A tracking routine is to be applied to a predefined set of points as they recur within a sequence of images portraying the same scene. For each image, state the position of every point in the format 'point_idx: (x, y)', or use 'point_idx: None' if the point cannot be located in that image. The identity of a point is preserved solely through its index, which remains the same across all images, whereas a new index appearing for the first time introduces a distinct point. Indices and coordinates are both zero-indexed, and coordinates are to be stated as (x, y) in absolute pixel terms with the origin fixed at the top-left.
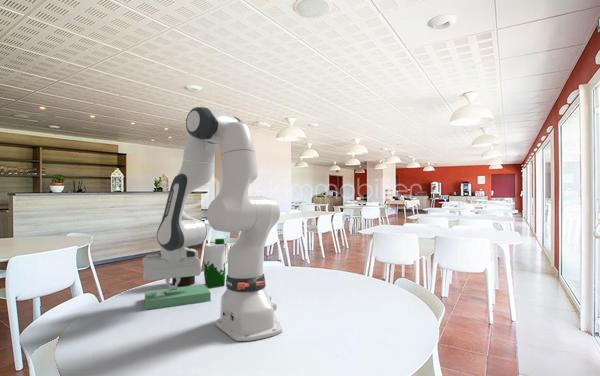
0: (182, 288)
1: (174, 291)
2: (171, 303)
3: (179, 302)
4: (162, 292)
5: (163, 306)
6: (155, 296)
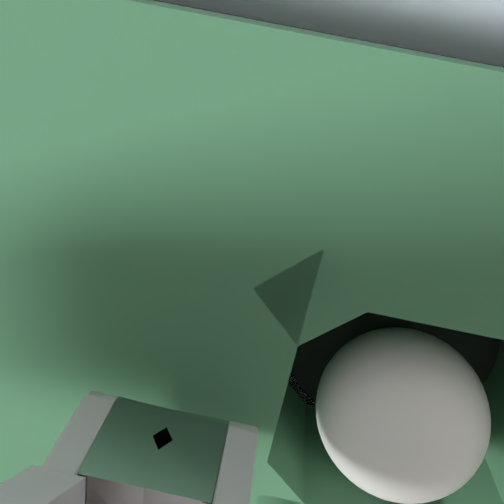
0: None
1: None
2: (313, 32)
3: (161, 3)
4: (375, 444)
5: (455, 58)
6: (490, 418)
